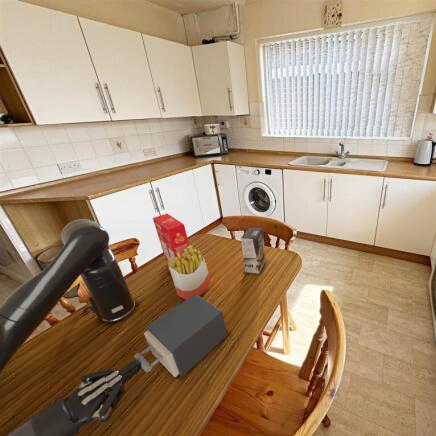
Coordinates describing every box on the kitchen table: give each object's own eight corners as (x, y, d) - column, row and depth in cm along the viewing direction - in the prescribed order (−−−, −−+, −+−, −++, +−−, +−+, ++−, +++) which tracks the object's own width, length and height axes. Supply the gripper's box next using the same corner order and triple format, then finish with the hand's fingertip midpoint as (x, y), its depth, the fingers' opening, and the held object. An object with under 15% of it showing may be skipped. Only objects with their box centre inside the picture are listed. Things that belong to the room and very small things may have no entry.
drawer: (158, 393, 55) (148, 371, 52) (135, 365, 62) (125, 345, 58) (219, 337, 68) (214, 318, 65) (195, 319, 74) (190, 301, 71)
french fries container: (212, 286, 90) (203, 246, 82) (187, 305, 81) (174, 262, 74) (204, 282, 92) (194, 242, 84) (179, 300, 83) (166, 258, 76)
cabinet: (181, 377, 59) (172, 351, 55) (156, 350, 66) (146, 326, 62) (227, 335, 70) (222, 311, 66) (201, 316, 77) (195, 293, 73)
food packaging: (198, 281, 92) (184, 224, 82) (185, 288, 89) (168, 229, 78) (182, 266, 102) (167, 213, 91) (169, 272, 98) (152, 217, 88)
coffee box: (259, 274, 96) (255, 239, 89) (244, 272, 97) (239, 237, 90) (266, 260, 104) (263, 228, 97) (252, 259, 105) (248, 227, 98)
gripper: (40, 423, 49) (132, 358, 61) (56, 477, 41) (157, 391, 54) (22, 401, 46) (123, 338, 58) (36, 455, 38) (147, 369, 51)
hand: (139, 363), depth 56 cm, fingers closed
